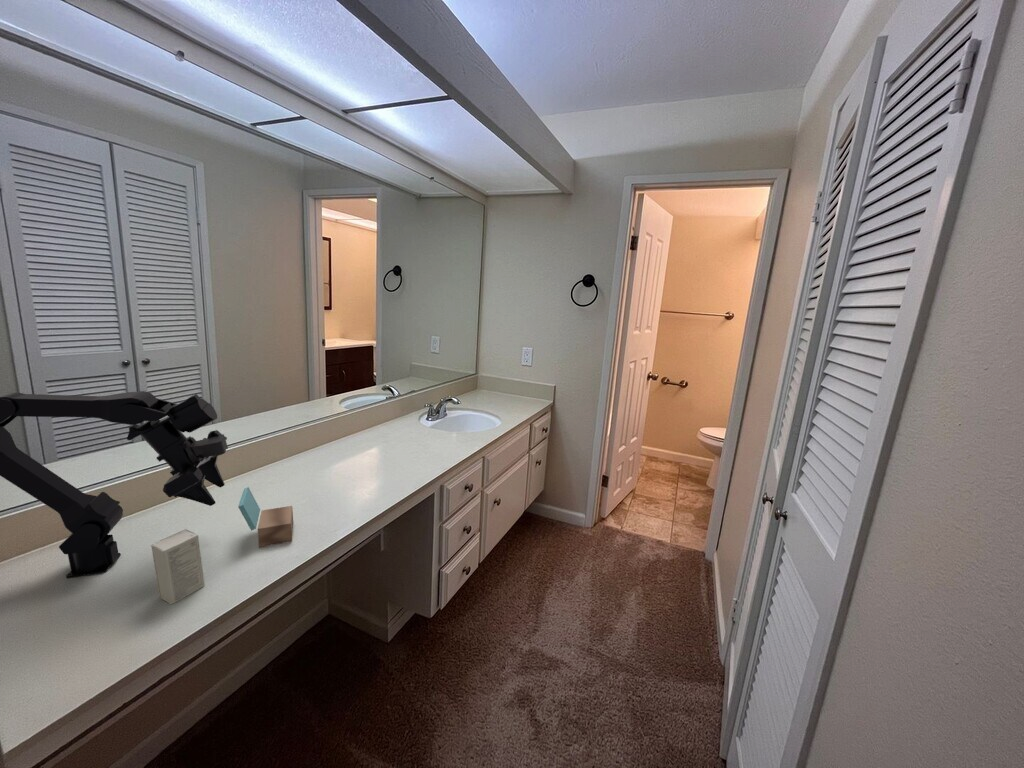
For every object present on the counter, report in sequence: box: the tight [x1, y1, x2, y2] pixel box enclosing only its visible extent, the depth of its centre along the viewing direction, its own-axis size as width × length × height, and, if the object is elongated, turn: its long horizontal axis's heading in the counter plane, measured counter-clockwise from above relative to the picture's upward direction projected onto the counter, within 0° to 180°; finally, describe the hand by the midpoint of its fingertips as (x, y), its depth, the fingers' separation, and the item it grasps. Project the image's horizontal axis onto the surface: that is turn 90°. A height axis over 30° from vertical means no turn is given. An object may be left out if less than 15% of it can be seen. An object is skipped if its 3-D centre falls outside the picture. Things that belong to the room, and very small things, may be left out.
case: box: [257, 505, 294, 548], centre depth 103 cm, size 7×9×5 cm
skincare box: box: [150, 528, 205, 605], centre depth 81 cm, size 6×4×12 cm
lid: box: [237, 486, 261, 532], centre depth 99 cm, size 7×9×1 cm
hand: (218, 494), depth 95 cm, fingers open, 9 cm apart
